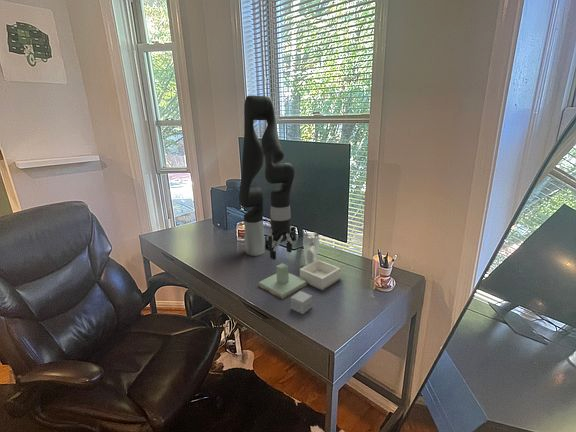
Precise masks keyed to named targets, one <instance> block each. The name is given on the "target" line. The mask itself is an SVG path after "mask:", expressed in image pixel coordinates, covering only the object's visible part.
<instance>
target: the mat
mask: <svg viewBox="0 0 576 432" xmlns="http://www.w3.org/2000/svg"><path fill="white" fill-rule="evenodd" d="M257 285H258V287H259V288H262V289H263V290H264V291H267V292H269V293H271V294H272V295H274V296H276V297H277V298H279V299H281V300H284V299H285V298H288V297H289V296H291V295H292V294H294V293H296V292H297V291H298V292H299V291H300V290H301V289H303V288H304V287H307V286H308V283H307V284H305V285H303V286H302V287H300V288H298V289H296V290H295V291H293V292H291V293H289V294H288V295H286V296H284V297H281V296H279V295H277V294H275V293H273V292H272V291H270V290H268V289H266V288H264V287H262V286H261V285H259V284H257Z"/></svg>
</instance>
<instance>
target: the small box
mask: <svg viewBox="0 0 576 432" xmlns="http://www.w3.org/2000/svg"><path fill="white" fill-rule="evenodd" d="M311 308H313V295H311V294H309V293H307V292H305V291H302V290H298V292H297V293H296V292H295V294H294V295H292V296H291V297H290V309H291V310H293V311H295V312H297V313H299V314H302V315H304V314H306V313H307V312H308V311H309V310H310V309H311Z"/></svg>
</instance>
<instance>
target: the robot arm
mask: <svg viewBox="0 0 576 432" xmlns="http://www.w3.org/2000/svg"><path fill="white" fill-rule="evenodd" d="M243 104H244V105H243V108H244V109H243V117H244V121H243V124H244V125H243V126H244V127H243V129H244V134H243V144H242V145H243V146H242V159H241V161H242V162H241V178H240V184H239V189H238V190H239V191H238V192H239V193H238V201H239V205H240V206H241V208H244V209H247V208H251V209H250V210H249V211H246V212H245V214H243V225H244V234H243V239H244V242H243V243H244V251H245V252H246V254H247V255H248V256H253V257H257V256H260V255H264V254H265V252H266V251H269V258H270V259H271V260H273V261H275V260H276V259H277V248H278V247H279V246H280V244H281V243H283V242H286V245H285V246H286V252H287V253H292V251H293V244H294V242H296V241H297V234H296V233H297V231H296V229H297V227H295V226H293V225H291V221H292V219H291V217H292V215H291V211H292V210H291V205H290V204H291V202H290V201H291V199H290V198H291V191H292V186H293V183H294V178H295V168H294V166H293V165H292V163H290V162H282V163H280V162H281V161H282V160H284V156H285V155H284V151H283V147H282V144H281V142H280V138H279V133H278V125H277V124H278V123H277V119H276V111H275V107H274V106H275V105H274V101H273V99H272V98H271V97H270V96H267V95H247V96H246V97H245V100H244V103H243ZM254 121H266V124H267V125H266V128H265V130H264V131H263V134H262V137H261V141H260V138H259V137H258V135H257V133H256V130H255V126H254ZM264 161H265V168H264V176H265V177H264V178H265V180H266V182H267V183H268V184H272V185H273V184H274V185H275V184H281V185H280V186H279V187H277V188H273V189H272V190H271V191H270V228H271V230H272V231H271V232H272V233H271V234H265V231H264V192H263V189H262V188H261V187H259V186H252V187H251V184H252V182H253V181H254V179H255V178H256V176H257V175H258V174H259V172H260V171H261V169H262V168H263V165H264ZM264 234H265V235H264ZM265 250H266V251H265Z"/></svg>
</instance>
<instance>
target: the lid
mask: <svg viewBox="0 0 576 432" xmlns="http://www.w3.org/2000/svg"><path fill="white" fill-rule="evenodd" d="M275 269H276V273H275V274H272V275H270V276H269V277H266V278H264V279H262V280H261V281H259V282H258V285H261V286H262V287H264V288H266V289H268V290H270V291H272V292H273V293H275V294H277V295H279V296H281V297H284V296H286V295H288V294H289V293H291V292H293V291H295V290H296V289H298V288H300V287H302V286H303V285H305V284H307V285H308V283H307V281H305V280H303V279H301V278H300V276H297V275H295V274H293V273H290V272H289V265H287V264H285V263H283V262H282V263H280V264H278V265H276V266H275Z"/></svg>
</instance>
